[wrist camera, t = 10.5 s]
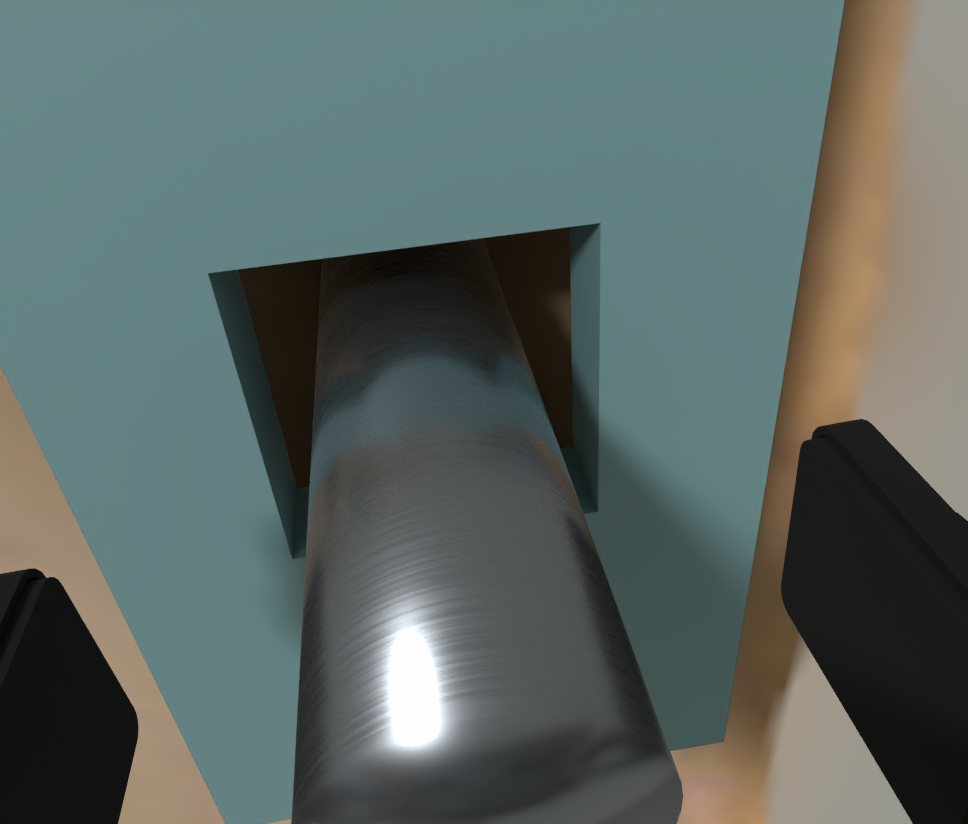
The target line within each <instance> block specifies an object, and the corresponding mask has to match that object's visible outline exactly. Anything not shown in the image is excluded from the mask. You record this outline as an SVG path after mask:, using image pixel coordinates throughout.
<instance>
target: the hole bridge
mask: <svg viewBox="0 0 968 824" xmlns="http://www.w3.org/2000/svg"><path fill="white" fill-rule="evenodd" d="M844 2H845V0H0V366H1V368H2V370H3V372H4V374H5V376H6V378H7V380H8V382H9V384H10V386H11V388H12V390H13V392H14V394H15V396H16V398H17V400H18V402H19V404H20V406H21V408H22V410H23V412H24V414H25V416H26V418H27V421H28V423H29V425H30V427H31V429H32V431H33V433H34V435H35V437H36V439H37V441H38V443H39V445H40V447H41V449H42V451H43V453H44V455H45V457H46V459H47V461H48V463H49V465H50V467H51V469H52V471H53V473H54V476H55V478H56V480H57V482H58V484H59V486H60V488H61V490H62V492H63V494H64V496H65V498H66V500H67V502H68V504H69V506H70V508H71V510H72V512H73V514H74V516H75V518H76V520H77V522H78V524H79V526H80V528H81V531H82V533H83V535H84V537H85V539H86V541H87V543H88V545H89V547H90V549H91V551H92V553H93V555H94V557H95V559H96V561H97V563H98V565H99V567H100V569H101V571H102V573H103V575H104V577H105V579H106V581H107V583H108V586H109V588H110V590H111V592H112V594H113V596H114V598H115V600H116V602H117V604H118V606H119V608H120V610H121V612H122V614H123V616H124V618H125V620H126V622H127V624H128V626H129V628H130V630H131V632H132V634H133V636H134V639H135V641H136V643H137V645H138V647H139V649H140V651H141V653H142V655H143V657H144V659H145V661H146V663H147V665H148V667H149V669H150V671H151V673H152V675H153V677H154V679H155V681H156V683H157V685H158V687H159V689H160V691H161V694H162V696H163V698H164V700H165V702H166V704H167V706H168V708H169V710H170V712H171V714H172V716H173V718H174V720H175V722H176V724H177V726H178V728H179V730H180V732H181V734H182V736H183V738H184V740H185V742H186V744H187V746H188V749H189V751H190V753H191V755H192V757H193V759H194V761H195V763H196V765H197V767H198V769H199V771H200V773H201V775H202V777H203V779H204V781H205V783H206V785H207V787H208V789H209V791H210V793H211V795H212V797H213V799H214V801H215V804H216V806H217V808H218V810H219V812H220V814H221V816H222V818H223V820H224V822H225V824H265V823H271V822H276V821H282V820H287V819H292V803H293V784H294V766H295V747H296V729H297V710H298V691H299V673H300V654H301V636H302V617H303V598H304V580H305V561H306V543H307V524H308V506H309V487H310V486H308V487H301V488H297V485H296V481H295V477H294V474H293V470H292V466H291V463H290V459H289V455H288V452H287V448H286V444H285V441H284V437H283V433H282V429H281V426H280V422H279V418H278V415H277V411H276V407H275V404H274V400H273V396H272V393H271V389H270V385H269V382H268V378H267V374H266V370H265V367H264V363H263V359H262V356H261V352H260V348H259V345H258V341H257V337H256V334H255V330H254V326H253V322H252V319H251V315H250V311H249V308H248V304H247V300H246V297H245V293H244V289H243V286H242V282H241V278H240V275H239V271H238V269H246V268H254V267H261V266H269V265H277V264H285V263H293V262H300V261H308V260H316V259H324V258H332V257H339V256H347V255H355V254H363V253H371V252H378V251H386V250H394V249H402V248H410V247H417V246H425V245H433V244H441V243H449V242H456V241H464V240H472V239H480V238H488V237H495V236H503V235H511V234H519V233H527V232H534V231H542V230H550V229H558V228H566V227H570V275H571V344H572V413H573V447H570V448H563V449H560V450H561V453H562V456H563V459H564V461H565V464H566V467H567V470H568V472H569V475H570V478H571V481H572V483H573V486H574V489H575V492H576V494H577V497H578V500H579V503H580V505H581V508H582V511H583V514H584V516H585V519H586V522H587V525H588V527H589V530H590V533H591V536H592V538H593V541H594V544H595V547H596V549H597V552H598V555H599V558H600V560H601V563H602V566H603V569H604V571H605V574H606V577H607V580H608V582H609V585H610V588H611V591H612V593H613V596H614V599H615V602H616V604H617V607H618V610H619V613H620V615H621V618H622V621H623V624H624V626H625V629H626V632H627V635H628V637H629V640H630V643H631V646H632V648H633V651H634V654H635V657H636V659H637V662H638V665H639V668H640V670H641V673H642V676H643V679H644V681H645V684H646V687H647V690H648V692H649V695H650V698H651V701H652V703H653V706H654V709H655V712H656V714H657V717H658V720H659V723H660V725H661V728H662V731H663V734H664V736H665V739H666V742H667V745H668V747H669V750H670V751H673V750H679V749H685V748H690V747H696V746H701V745H707V744H713V743H718V742H724V737H725V731H726V724H727V718H728V712H729V706H730V700H731V694H732V688H733V682H734V675H735V669H736V663H737V657H738V651H739V645H740V639H741V633H742V626H743V620H744V614H745V608H746V602H747V596H748V590H749V584H750V577H751V571H752V565H753V559H754V553H755V547H756V541H757V535H758V528H759V522H760V516H761V510H762V504H763V498H764V492H765V486H766V479H767V473H768V467H769V461H770V455H771V449H772V443H773V437H774V430H775V424H776V418H777V412H778V406H779V400H780V394H781V388H782V381H783V375H784V369H785V363H786V357H787V351H788V345H789V339H790V332H791V326H792V320H793V314H794V308H795V302H796V296H797V290H798V283H799V277H800V271H801V265H802V259H803V253H804V247H805V241H806V234H807V228H808V222H809V216H810V210H811V204H812V198H813V192H814V185H815V179H816V173H817V167H818V161H819V155H820V149H821V143H822V136H823V130H824V124H825V118H826V112H827V106H828V100H829V94H830V87H831V81H832V75H833V69H834V63H835V57H836V51H837V45H838V38H839V32H840V26H841V20H842V14H843V8H844Z"/></svg>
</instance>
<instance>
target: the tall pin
mask: <svg viewBox="0 0 968 824" xmlns="http://www.w3.org/2000/svg"><path fill="white" fill-rule="evenodd" d="M682 799H683V793H682V784H681V780H680V778H679V775H678V772H677V769H676V767H675V764H674V761H673V758H672V756H671V753H670V750H669V747H668V745H667V742H666V739H665V736H664V734H663V731H662V728H661V725H660V723H659V720H658V717H657V714H656V712H655V709H654V706H653V703H652V701H651V698H650V695H649V692H648V690H647V687H646V684H645V681H644V679H643V676H642V673H641V670H640V668H639V665H638V662H637V659H636V657H635V654H634V651H633V648H632V646H631V643H630V640H629V637H628V635H627V632H626V629H625V626H624V624H623V621H622V618H621V615H620V613H619V610H618V607H617V604H616V602H615V599H614V596H613V593H612V591H611V588H610V585H609V582H608V580H607V577H606V574H605V571H604V569H603V566H602V563H601V560H600V558H599V555H598V552H597V549H596V547H595V544H594V541H593V538H592V536H591V533H590V530H589V527H588V525H587V522H586V519H585V516H584V514H583V511H582V508H581V505H580V503H579V500H578V497H577V494H576V492H575V489H574V486H573V483H572V481H571V478H570V475H569V472H568V470H567V467H566V464H565V461H564V459H563V456H562V453H561V450H560V448H559V445H558V442H557V439H556V437H555V434H554V431H553V428H552V426H551V423H550V420H549V417H548V415H547V412H546V409H545V406H544V404H543V401H542V398H541V395H540V393H539V390H538V387H537V384H536V382H535V379H534V376H533V373H532V371H531V368H530V365H529V362H528V360H527V357H526V354H525V351H524V349H523V346H522V343H521V340H520V338H519V335H518V332H517V329H516V327H515V324H514V321H513V318H512V316H511V313H510V310H509V307H508V305H507V302H506V299H505V296H504V294H503V291H502V288H501V285H500V283H499V280H498V277H497V274H496V272H495V269H494V266H493V263H492V261H491V258H490V255H489V252H488V250H487V247H486V244H485V242H484V240H483V238H480V239H472V240H464V241H456V242H449V243H441V244H433V245H425V246H417V247H410V248H402V249H394V250H386V251H378V252H371V253H363V254H355V255H347V256H339V257H332V258H324V259H323V261H322V268H321V283H320V301H319V320H318V338H317V357H316V376H315V394H314V413H313V431H312V450H311V468H310V487H309V506H308V524H307V543H306V561H305V580H304V598H303V617H302V636H301V654H300V673H299V691H298V710H297V729H296V747H295V766H294V784H293V803H292V821H291V824H676V823H677V820H678V817H679V815H680V812H681V807H682Z"/></svg>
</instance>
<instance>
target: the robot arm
mask: <svg viewBox="0 0 968 824" xmlns="http://www.w3.org/2000/svg"><path fill="white" fill-rule="evenodd" d="M781 593H782V599H783V603H784V605H785V608H786V611H787V613H788V615H789V616H790V618H791V620H792V621H793V623H794V625H795V626H796V628H797V630H798V631H799V633H800V635H801V636H802V638H803V640H804V641H805V643H806V645H807V647H808V648H809V650H810V652H811V653H812V655H813V657H814V658H815V660H816V662H817V663H818V665H819V667H820V668H821V670H822V672H823V673H824V675H825V677H826V678H827V680H828V682H829V683H830V685H831V687H832V689H833V690H834V692H835V693H836V695H837V697H838V698H839V700H840V702H841V703H842V705H843V707H844V709H845V710H846V712H847V714H848V715H849V717H850V719H851V720H852V722H853V724H854V725H855V727H856V729H857V730H858V732H859V734H860V736H861V737H862V739H863V740H864V742H865V744H866V746H867V747H868V749H869V750H870V752H871V754H872V756H873V757H874V759H875V761H876V762H877V764H878V766H879V767H880V769H881V771H882V772H883V774H884V776H885V777H886V779H887V781H888V782H889V784H890V786H891V787H892V789H893V791H894V792H895V794H896V796H897V798H898V799H899V801H900V803H901V804H902V806H903V808H904V809H905V811H906V813H907V814H908V816H909V817H910V819H911V821H912V823H913V824H968V521H967V520H965V519H964V518H963V517H962V516H961V515H959V514H958V513H956V512H955V511H954V510H953V509H952V508H951V507H950V506H949V505H948V504H947V503H946V502H945V501H944V500H943V499H942V497H941V496H940V495H939V494H938V493H937V492H936V491H935V490H934V489H933V488H932V487H931V486H930V485H929V484H928V483H927V482H926V481H925V480H924V479H923V477H922V476H921V475H920V474H919V473H918V472H917V471H916V470H915V469H914V468H913V467H912V466H911V465H910V464H909V463H908V462H907V461H906V460H905V459H904V457H903V456H902V455H901V454H900V453H899V452H898V451H897V450H896V449H895V448H894V447H893V446H892V445H891V444H890V443H889V442H888V441H887V440H886V438H884V436H883V435H882V434H881V433H880V432H879V431H878V430H877V429H876V428H875V427H874V426H873V425H872V424H871V423H870V422H868V421H867V420H863V419H859V420H853V421H847V422H842V423H836V424H831V425H825V426H820V427H818V428H816V430H815V431H814V432H813V435H812V439H811V440H807V441H804V442H803V444H802V445H801V449H800V455H799V462H798V469H797V476H796V483H795V490H794V497H793V505H792V512H791V519H790V526H789V533H788V540H787V547H786V554H785V561H784V568H783V576H782V583H781ZM137 739H138V719H137V715H136V712H135V709H134V707H133V706H132V704H131V702H130V700H129V699H128V697H127V695H126V694H125V692H124V690H123V688H122V687H121V685H120V683H119V682H118V680H117V678H116V676H115V675H114V673H113V671H112V670H111V668H110V666H109V664H108V663H107V661H106V659H105V658H104V656H103V654H102V652H101V651H100V649H99V647H98V646H97V644H96V642H95V640H94V639H93V637H92V635H91V634H90V632H89V630H88V628H87V627H86V625H85V623H84V622H83V620H82V618H81V617H80V615H79V613H78V611H77V610H76V608H75V606H74V605H73V603H72V601H71V599H70V598H69V596H68V594H67V593H66V591H65V589H64V587H63V586H62V584H61V583H60V582H59V580H58V579H56V578H54V577H49V578H46V577H45V576H44V574H43V573H42V572H41V571H39V570H37V569H26V570H20V571H15V572H9V573H4V574H0V824H118V821H119V817H120V812H121V808H122V804H123V799H124V795H125V791H126V787H127V782H128V778H129V774H130V770H131V765H132V761H133V757H134V752H135V748H136V744H137Z"/></svg>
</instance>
